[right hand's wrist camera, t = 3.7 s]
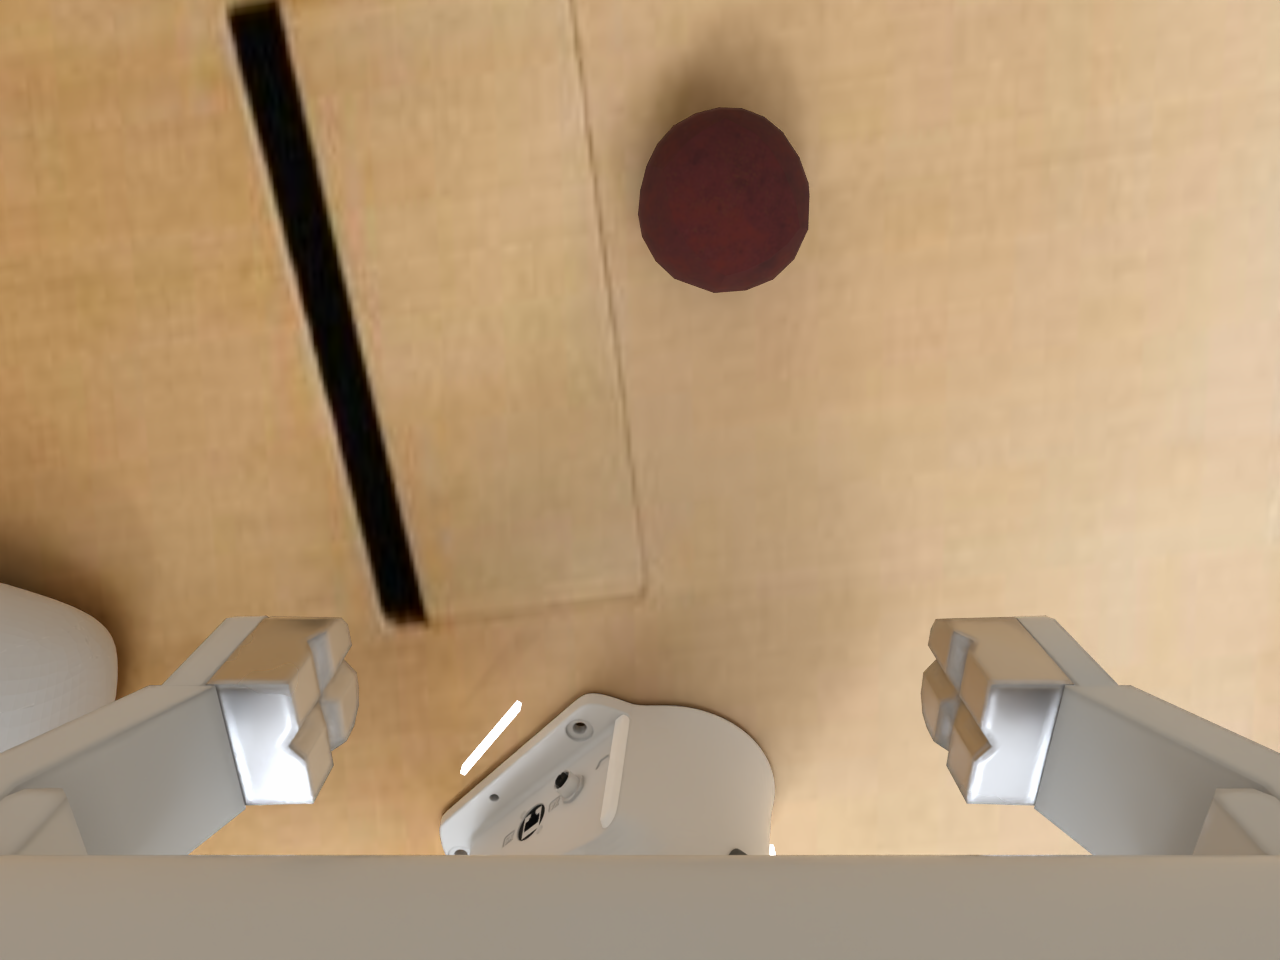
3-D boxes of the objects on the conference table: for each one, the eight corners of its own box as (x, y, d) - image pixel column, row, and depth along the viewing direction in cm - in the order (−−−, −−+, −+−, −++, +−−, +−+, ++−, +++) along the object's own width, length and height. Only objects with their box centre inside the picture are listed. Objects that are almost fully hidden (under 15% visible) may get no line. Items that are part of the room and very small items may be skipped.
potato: (735, 80, 34) (759, 55, 27) (822, 227, 36) (862, 237, 30) (605, 182, 35) (597, 181, 29) (696, 316, 38) (708, 344, 31)
